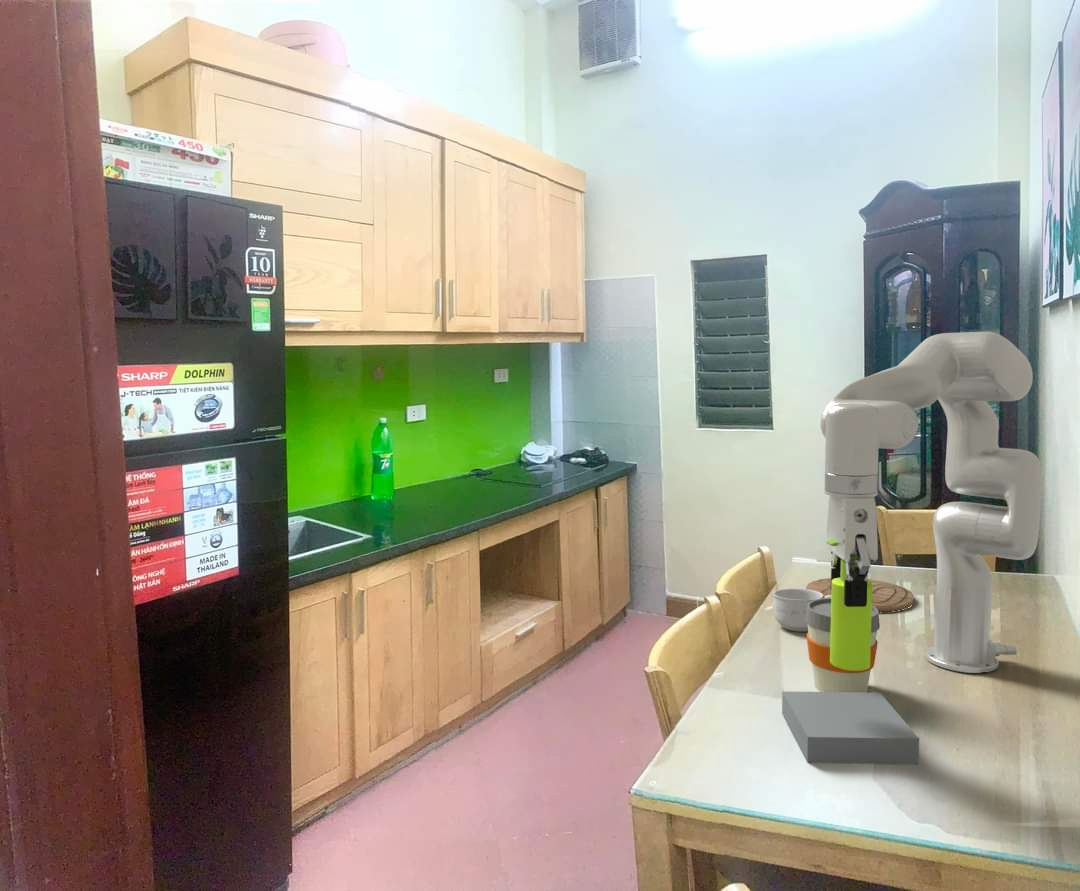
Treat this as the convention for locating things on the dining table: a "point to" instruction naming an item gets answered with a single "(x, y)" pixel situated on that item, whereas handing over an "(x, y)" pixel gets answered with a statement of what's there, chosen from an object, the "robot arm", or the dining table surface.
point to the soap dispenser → (849, 626)
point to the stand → (849, 728)
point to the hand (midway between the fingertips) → (848, 598)
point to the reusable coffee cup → (819, 651)
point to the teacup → (794, 607)
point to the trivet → (874, 594)
